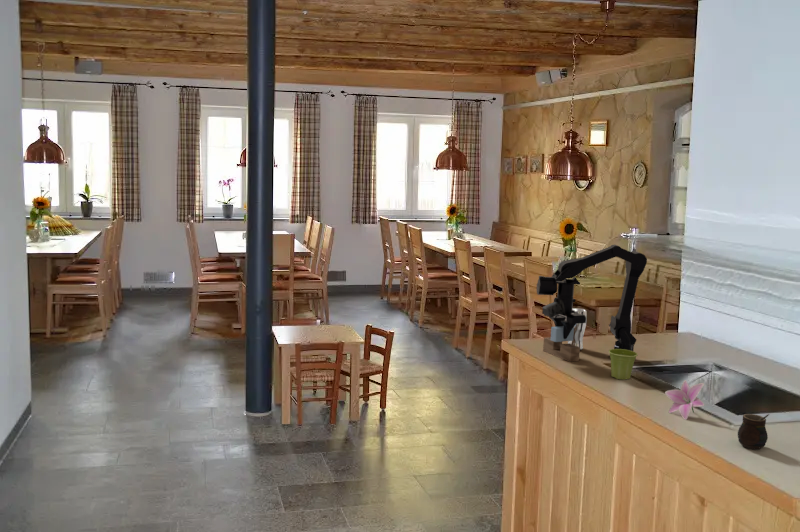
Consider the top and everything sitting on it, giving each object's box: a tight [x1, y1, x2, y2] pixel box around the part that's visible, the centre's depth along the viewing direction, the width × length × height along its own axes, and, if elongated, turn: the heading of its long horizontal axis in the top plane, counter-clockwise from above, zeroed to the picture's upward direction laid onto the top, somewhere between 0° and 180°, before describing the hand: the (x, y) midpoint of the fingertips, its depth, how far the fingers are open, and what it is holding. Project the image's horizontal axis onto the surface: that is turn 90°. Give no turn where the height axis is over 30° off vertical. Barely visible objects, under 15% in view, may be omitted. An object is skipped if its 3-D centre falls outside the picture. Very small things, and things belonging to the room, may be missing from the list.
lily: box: [664, 379, 705, 421], centre depth 234 cm, size 12×12×10 cm
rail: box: [542, 336, 581, 363], centre depth 296 cm, size 4×16×5 cm, turn 27°
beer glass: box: [567, 307, 588, 351], centre depth 309 cm, size 7×7×15 cm
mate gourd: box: [737, 413, 770, 450], centre depth 209 cm, size 7×8×10 cm
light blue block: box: [550, 326, 574, 343], centre depth 295 cm, size 8×3×5 cm, turn 117°
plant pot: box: [608, 348, 639, 381], centre depth 270 cm, size 9×9×9 cm
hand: (562, 337), depth 296 cm, fingers closed on light blue block, 3 cm apart
